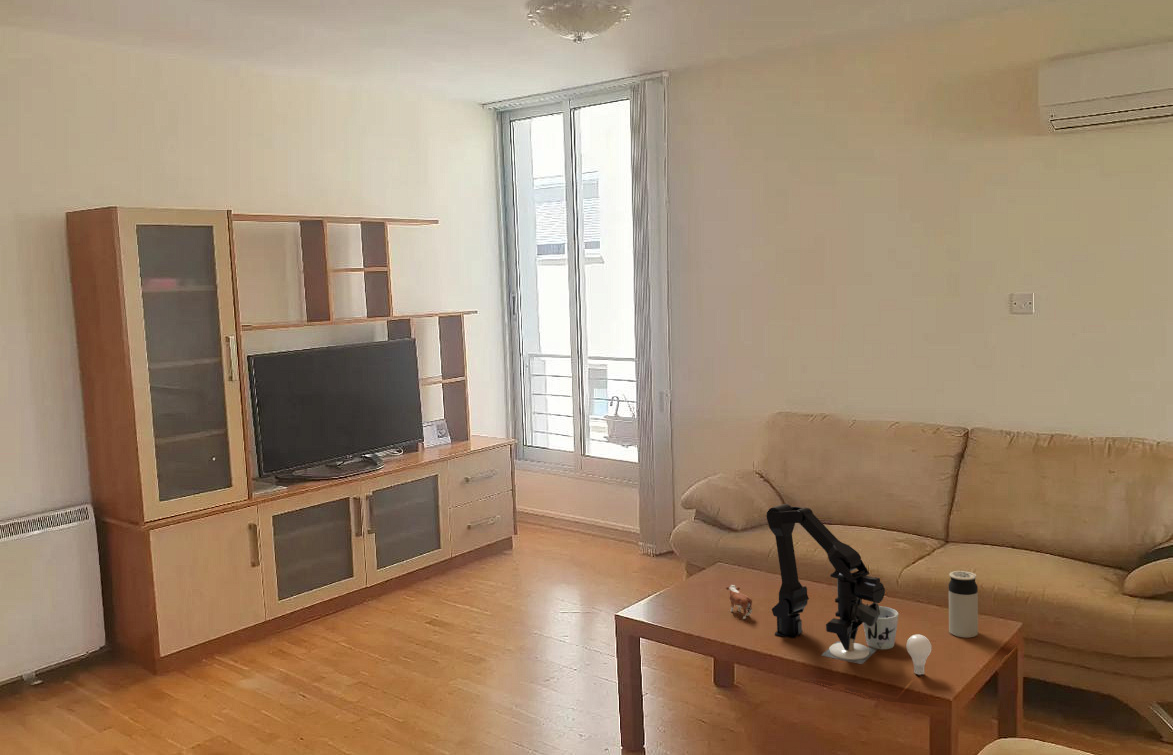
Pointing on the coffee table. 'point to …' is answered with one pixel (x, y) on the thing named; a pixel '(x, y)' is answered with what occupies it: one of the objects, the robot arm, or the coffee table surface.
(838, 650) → the lid
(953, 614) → the travel mug
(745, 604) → the bull figurine
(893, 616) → the mug
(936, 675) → the coffee table surface
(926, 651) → the lightbulb
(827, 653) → the mat
